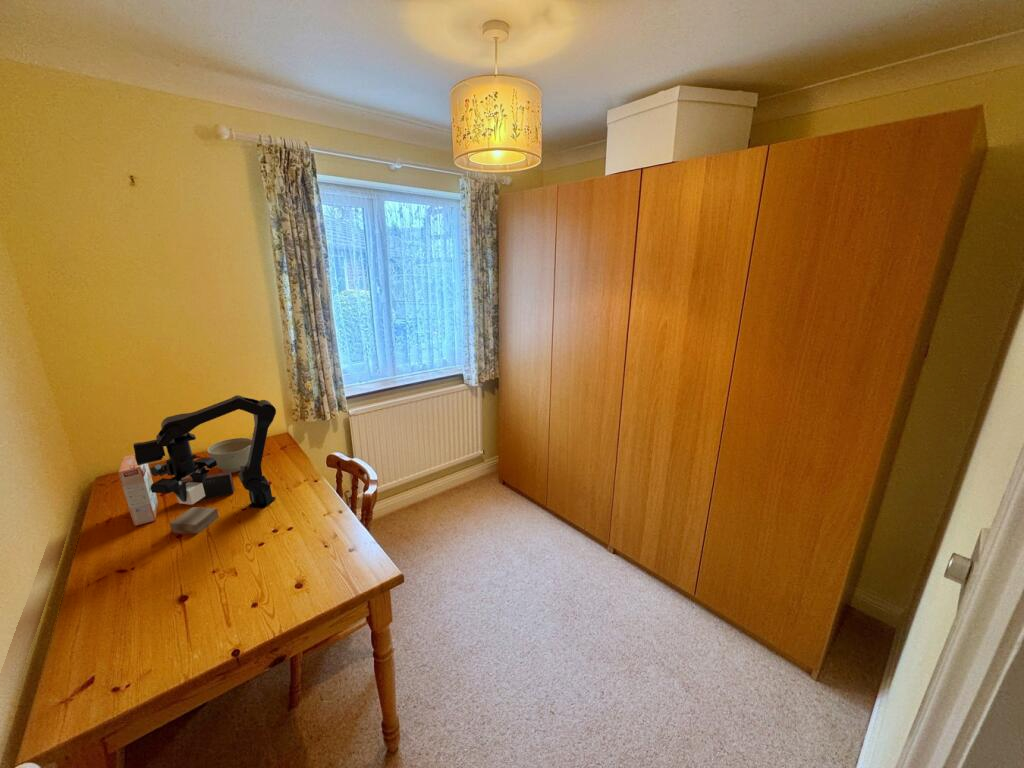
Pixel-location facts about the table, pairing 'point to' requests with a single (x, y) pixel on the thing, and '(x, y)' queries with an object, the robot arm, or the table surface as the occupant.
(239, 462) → the planter bowl
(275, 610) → the table surface
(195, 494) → the cream cube
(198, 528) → the grey block
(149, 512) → the cereal box
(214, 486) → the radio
